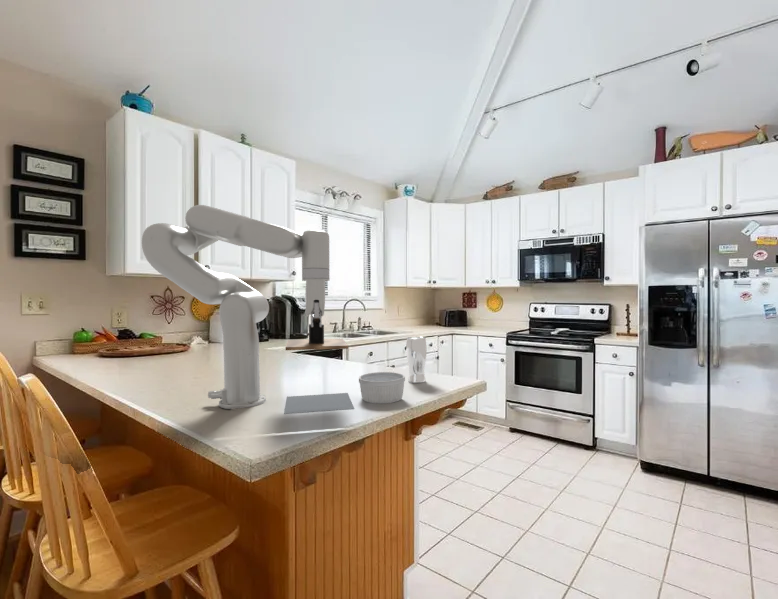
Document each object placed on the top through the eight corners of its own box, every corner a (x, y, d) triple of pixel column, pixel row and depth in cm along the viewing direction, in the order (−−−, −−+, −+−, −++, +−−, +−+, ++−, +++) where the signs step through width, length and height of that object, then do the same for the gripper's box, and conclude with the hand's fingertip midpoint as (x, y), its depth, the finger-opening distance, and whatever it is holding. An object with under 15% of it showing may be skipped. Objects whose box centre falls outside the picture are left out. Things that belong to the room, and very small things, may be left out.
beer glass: (427, 383, 141) (427, 338, 141) (406, 383, 141) (406, 339, 141) (426, 379, 148) (425, 336, 148) (406, 379, 148) (405, 336, 148)
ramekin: (367, 408, 112) (366, 382, 112) (353, 397, 125) (353, 374, 124) (412, 403, 117) (412, 378, 117) (394, 392, 129) (394, 370, 129)
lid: (285, 350, 108) (285, 327, 107) (287, 342, 123) (287, 323, 123) (348, 348, 111) (347, 326, 111) (342, 341, 126) (342, 322, 126)
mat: (283, 415, 107) (283, 413, 107) (286, 398, 124) (286, 396, 124) (354, 410, 110) (354, 408, 110) (347, 394, 128) (347, 392, 128)
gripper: (302, 276, 124) (302, 338, 124) (301, 274, 108) (302, 345, 108) (327, 276, 125) (328, 337, 126) (331, 274, 109) (331, 344, 109)
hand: (316, 340), depth 117 cm, fingers closed on lid, 4 cm apart
